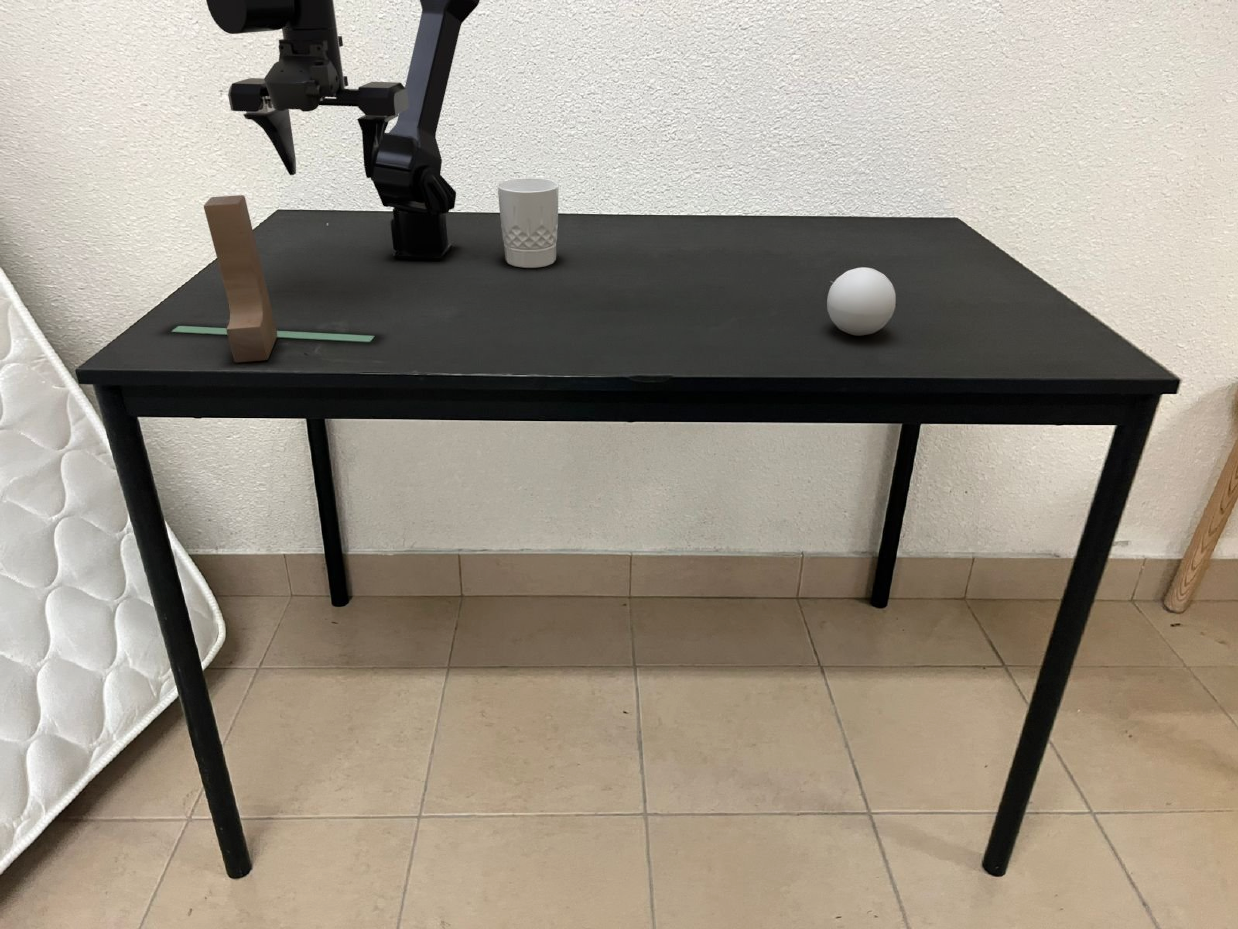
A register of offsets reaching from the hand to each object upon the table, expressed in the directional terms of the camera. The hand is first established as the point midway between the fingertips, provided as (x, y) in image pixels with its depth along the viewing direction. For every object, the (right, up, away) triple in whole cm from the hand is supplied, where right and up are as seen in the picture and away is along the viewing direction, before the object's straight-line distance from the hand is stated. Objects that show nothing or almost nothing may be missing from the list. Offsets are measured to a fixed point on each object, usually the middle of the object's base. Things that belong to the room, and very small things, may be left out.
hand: (331, 175), depth 104 cm
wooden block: (-4, -22, -11) cm, 25 cm away
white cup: (+22, -6, +15) cm, 28 cm away
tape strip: (-4, -20, -8) cm, 21 cm away
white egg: (+60, -19, -4) cm, 63 cm away
